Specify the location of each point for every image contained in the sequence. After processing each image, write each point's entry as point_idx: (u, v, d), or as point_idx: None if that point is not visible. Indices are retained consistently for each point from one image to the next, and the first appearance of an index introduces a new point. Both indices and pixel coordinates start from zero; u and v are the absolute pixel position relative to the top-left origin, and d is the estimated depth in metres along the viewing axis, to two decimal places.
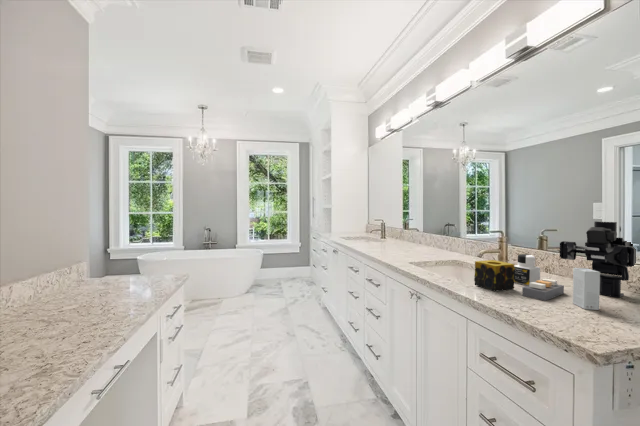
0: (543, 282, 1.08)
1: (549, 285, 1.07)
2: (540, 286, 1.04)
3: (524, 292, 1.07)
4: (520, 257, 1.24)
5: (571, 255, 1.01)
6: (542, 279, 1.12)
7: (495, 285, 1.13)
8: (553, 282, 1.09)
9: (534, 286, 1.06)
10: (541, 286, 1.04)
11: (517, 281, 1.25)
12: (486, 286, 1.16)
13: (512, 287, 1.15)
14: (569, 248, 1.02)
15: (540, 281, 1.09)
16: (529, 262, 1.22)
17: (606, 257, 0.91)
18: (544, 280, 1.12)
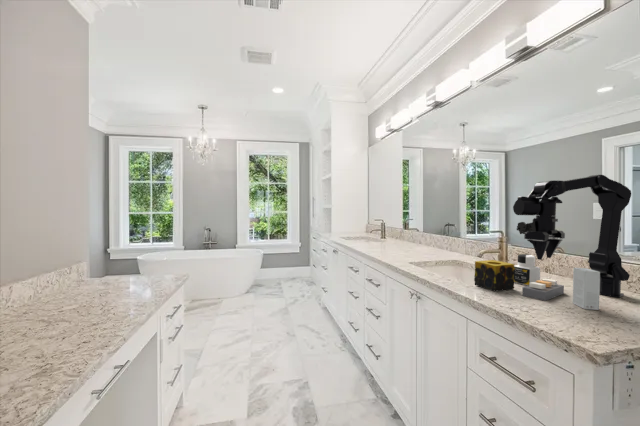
0: (543, 282, 1.08)
1: (549, 285, 1.07)
2: (540, 286, 1.04)
3: (524, 292, 1.07)
4: (520, 257, 1.24)
5: (552, 250, 1.10)
6: (542, 279, 1.12)
7: (495, 285, 1.13)
8: (553, 282, 1.09)
9: (534, 286, 1.06)
10: (541, 286, 1.04)
11: (517, 281, 1.25)
12: (486, 286, 1.16)
13: (512, 287, 1.15)
14: None
15: (540, 281, 1.09)
16: (529, 262, 1.22)
17: (539, 259, 1.06)
18: (544, 280, 1.12)
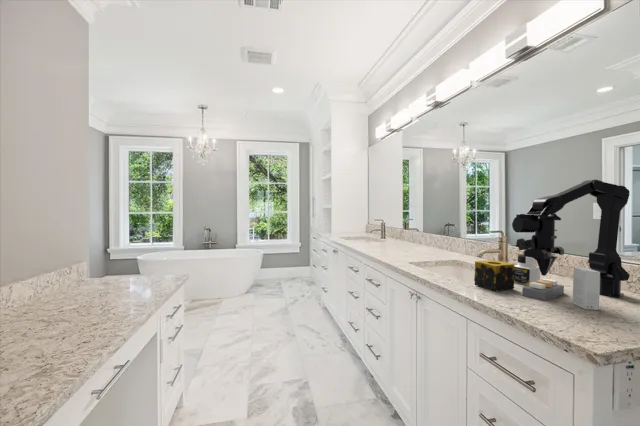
0: (543, 282, 1.08)
1: (549, 285, 1.07)
2: (540, 286, 1.04)
3: (524, 292, 1.07)
4: (520, 257, 1.24)
5: None
6: (542, 279, 1.12)
7: (495, 285, 1.13)
8: (553, 282, 1.09)
9: (534, 286, 1.06)
10: (541, 286, 1.04)
11: (517, 281, 1.25)
12: (486, 286, 1.16)
13: (512, 287, 1.15)
14: None
15: (540, 281, 1.09)
16: (529, 262, 1.22)
17: (543, 275, 1.08)
18: (544, 280, 1.12)
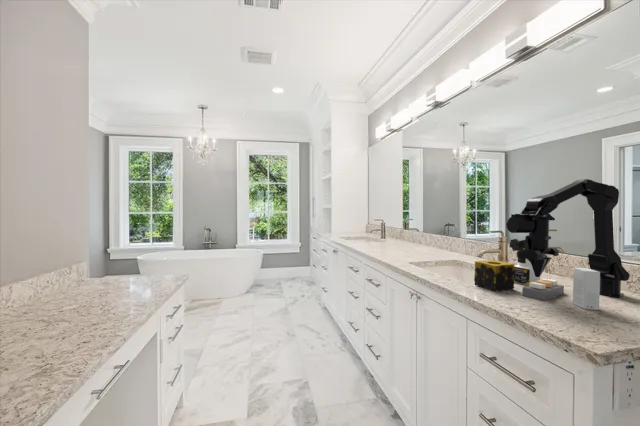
0: (543, 282, 1.08)
1: (549, 285, 1.07)
2: (540, 286, 1.04)
3: (524, 292, 1.07)
4: None
5: None
6: (542, 279, 1.12)
7: (495, 285, 1.13)
8: (553, 282, 1.09)
9: (534, 286, 1.06)
10: (541, 286, 1.04)
11: (517, 281, 1.25)
12: (486, 286, 1.16)
13: (512, 287, 1.15)
14: None
15: (540, 281, 1.09)
16: (529, 262, 1.22)
17: (537, 276, 1.06)
18: (544, 280, 1.12)
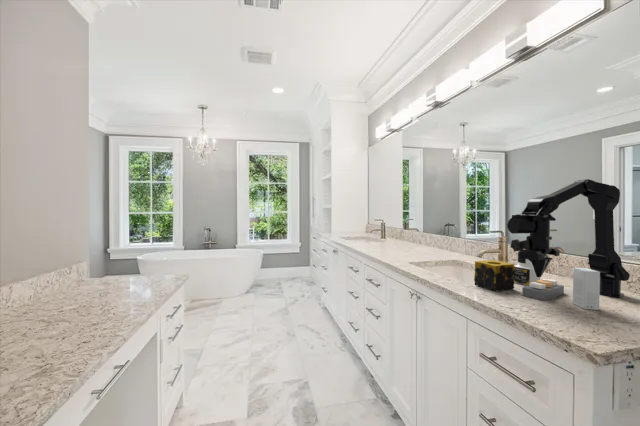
0: (543, 282, 1.08)
1: (549, 285, 1.07)
2: (540, 286, 1.04)
3: (524, 292, 1.07)
4: None
5: None
6: (542, 279, 1.12)
7: (495, 285, 1.13)
8: (553, 282, 1.09)
9: (534, 286, 1.06)
10: (541, 286, 1.04)
11: (517, 281, 1.25)
12: (486, 286, 1.16)
13: (512, 287, 1.15)
14: None
15: (540, 281, 1.09)
16: (529, 262, 1.22)
17: (538, 276, 1.06)
18: (544, 280, 1.12)
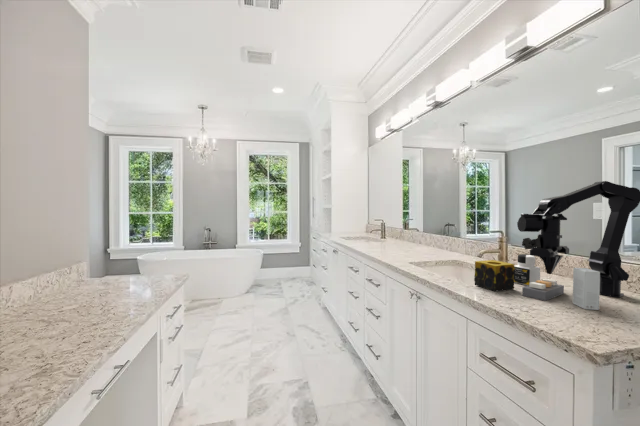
0: (543, 282, 1.08)
1: (549, 285, 1.07)
2: (540, 286, 1.04)
3: (524, 292, 1.07)
4: (520, 257, 1.24)
5: None
6: (542, 279, 1.12)
7: (495, 285, 1.13)
8: (553, 282, 1.09)
9: (534, 286, 1.06)
10: (541, 286, 1.04)
11: (517, 281, 1.25)
12: (486, 286, 1.16)
13: (512, 287, 1.15)
14: None
15: (540, 281, 1.09)
16: (529, 262, 1.22)
17: (549, 273, 1.11)
18: (544, 280, 1.12)
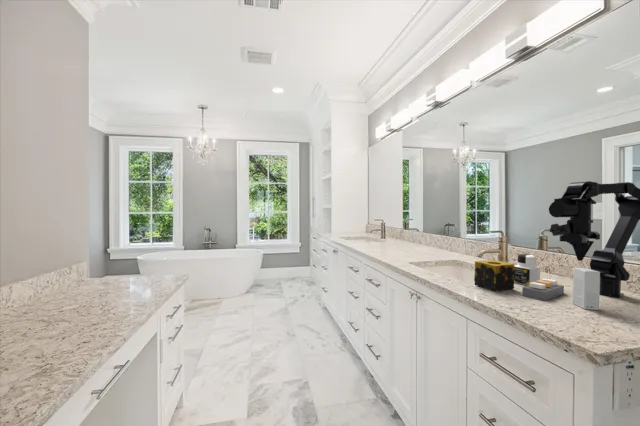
0: (543, 282, 1.08)
1: (549, 285, 1.07)
2: (540, 286, 1.04)
3: (524, 292, 1.07)
4: (520, 257, 1.24)
5: None
6: (542, 279, 1.12)
7: (495, 285, 1.13)
8: (553, 282, 1.09)
9: (534, 286, 1.06)
10: (541, 286, 1.04)
11: (517, 281, 1.25)
12: (486, 286, 1.16)
13: (512, 287, 1.15)
14: None
15: (540, 281, 1.09)
16: (529, 262, 1.22)
17: (579, 260, 1.07)
18: (544, 280, 1.12)
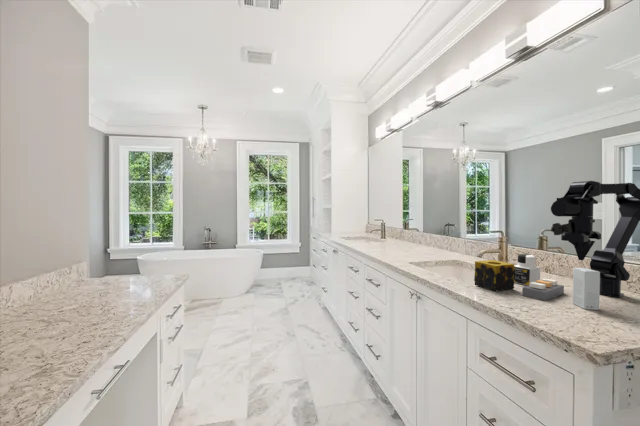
0: (543, 282, 1.08)
1: (549, 285, 1.07)
2: (540, 286, 1.04)
3: (524, 292, 1.07)
4: (520, 257, 1.24)
5: None
6: (542, 279, 1.12)
7: (495, 285, 1.13)
8: (553, 282, 1.09)
9: (534, 286, 1.06)
10: (541, 286, 1.04)
11: (517, 281, 1.25)
12: (486, 286, 1.16)
13: (512, 287, 1.15)
14: None
15: (540, 281, 1.09)
16: (529, 262, 1.22)
17: (580, 259, 1.06)
18: (544, 280, 1.12)
